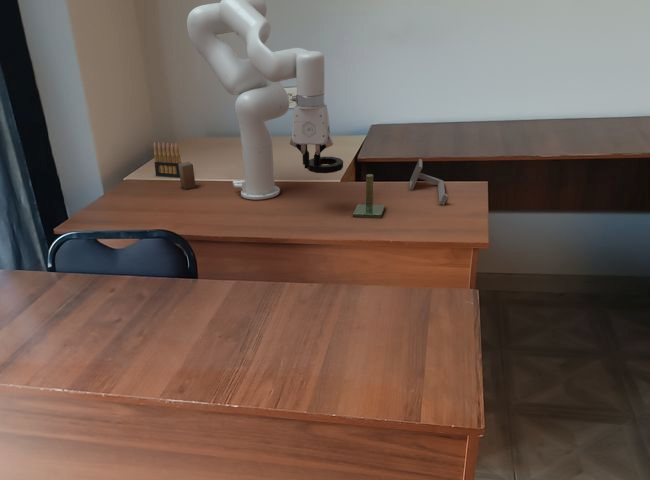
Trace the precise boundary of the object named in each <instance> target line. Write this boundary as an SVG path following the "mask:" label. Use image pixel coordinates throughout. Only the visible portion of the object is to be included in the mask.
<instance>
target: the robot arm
mask: <svg viewBox="0 0 650 480" xmlns="http://www.w3.org/2000/svg"><path fill="white" fill-rule="evenodd" d="M267 10H268V9H267V3H266V1H265V0H220V2H214V3H208V4H201V5H199V6H196V7H194V8H193V9H192V10H191V11H190V12H189V13H188V15H187V20H186V28H187V29H186V30H187V34H188V37H189V39H190V42H191V44H192V46H193V47H194V48H195V50H196V51H197V53H198V54H199V55H200V56H201V57H202V58H203V59H204V61H205V62H206V63H207V64H208V66H209V67H210V69H211V70H212V72H213V73H214V75H215V77H216V78H217V79H218V81H219V82H220V84H221V85H222V87H223V88H224V89H225V91H226V92H227V93H228V94H229V95H232V96H238V97H237V98H236V99H235V103H234V110H235V111H234V112H235V116H236V118H237V119H236V120H237V123H238V127H239V133H240V134H239V135H240V144H241V152H242V153H241V154H242V166H243V177H244V179H242V180H238V179H237V180H236V179H234V180H232V186H233V188H234V189H240V196H241V197H242V198H243V199H247V200H252V201H253V200H255V201H257V200H258V201H260V200H269V199H272V198H275V197H277V196H279V194H280V193H281V189H280V187H279V186H278V185H276V184H275V183H276V182H275V167H274V151H273V138H272V133H271V131H270V129H269V127H268V125H267V124H266V122H268V121H271V120H274V119H278V118H281V117H283V116H285V115H286V114H287V112H288V111H289V108H290V97H289V95H288V93H287V91H286V89H285V86H283V84H282V81H287V80H292V79H295V78H296V95H292V97H291V102H295V103H296V105H295V106H293V113H292V126H291V139H290V141H289V145H290V146H292V147H294V148H296V149H297V150H298V151H299V152H300V153H301V155H302V165H303V166H304V169H306V170H308V169H307V162H308V161H309V160H310V152H309V150H308V145H313V146H314V145H315V148H314V149H315V151H314V154H313V158H314V163H315V164H318V165H320V157H321V153H322V152H323V151H325V149H327V148H330V147H332V146H333V145H334V141H333V139H332V136H331V131H330V130H331V128H330V117H329V109H328V105H327V104H325V102H326V101H325V55H324V54H323V52H321V51H318V50H308V49H305V48H302V47H292V48H287V49H282V50H277V51H272V50H271V49H270V48H269V47H267V45H266V44H265V43H267V41H268V39H269V37H270V35H271V31H272V27H271V22H270V21H269V20H268V19H267V18H266V16H267ZM230 33H234V34H236V36H238V37H239V38H240V39H241V41H243V43H244V44H246V52H247V56H248V58H241V57H239V56H238V55H237V54H236V52H235V51H234V49H233V47H232V46H231V45H230V44H229V43H228V42H226V41H224V40H223V39H221V38H220V37H219V36H218V35H224V34H230Z"/></svg>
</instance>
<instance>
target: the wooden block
mask: <svg viewBox="0 0 650 480" xmlns="http://www.w3.org/2000/svg"><path fill="white" fill-rule="evenodd" d="M178 166H179V174H180V178H179V180H180V187H181V188H182V189H184V190H188V189H195V188H196V178H195V171H194V164H193V163H192V162H190V161H185V162H182V163H180V164H178Z"/></svg>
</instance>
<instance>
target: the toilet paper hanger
mask: <svg viewBox="0 0 650 480" xmlns="http://www.w3.org/2000/svg"><path fill="white" fill-rule="evenodd" d="M422 170H423V159H421V158H419V159H418V160H417V163H416V165H415V168H414V170H413V172H412V174H411V177H410V178H409V179H410V180H409V190H411V191H413V190H414V188H415V185H416V183H417V181H418V179H420V180H422V181H425V182H427V183H430V184H434V185H437V189H438V191H437V192H438V202H439V205H441V206H445V204H446V202H447V199H448V198H449V194H447V193H446V190H445V188H446V187H445V181H444V180H442V179H440V178H437V177H434V176H431V175H429V174H425V173H423V172H421V171H422Z"/></svg>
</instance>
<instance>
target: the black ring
mask: <svg viewBox="0 0 650 480" xmlns="http://www.w3.org/2000/svg"><path fill="white" fill-rule="evenodd" d="M343 168H344V160H343V159H341V158H340V157H335V156H320V165H318V164H315V163H314V157H313V158H309V161H308V162H307V169H306V170H307V171H309V172H311V173H315V174H331V173H336V172H339V171H342V169H343Z"/></svg>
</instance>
